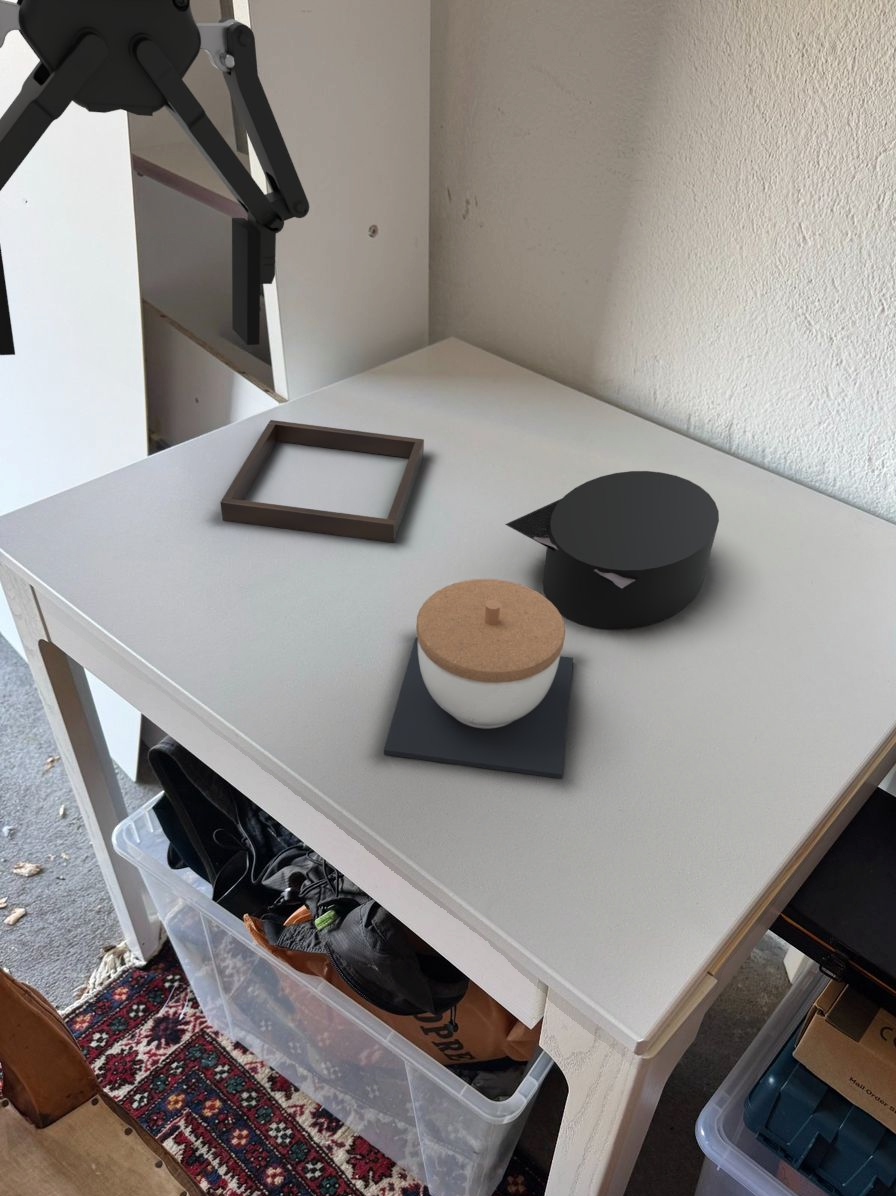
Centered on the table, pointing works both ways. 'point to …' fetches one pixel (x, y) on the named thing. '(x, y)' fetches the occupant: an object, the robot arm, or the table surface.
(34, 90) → the robot arm
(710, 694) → the table surface
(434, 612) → the trinket box
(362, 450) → the dark wooden square frame
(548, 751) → the mat
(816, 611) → the table surface
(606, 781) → the table surface
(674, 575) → the tape dispenser
